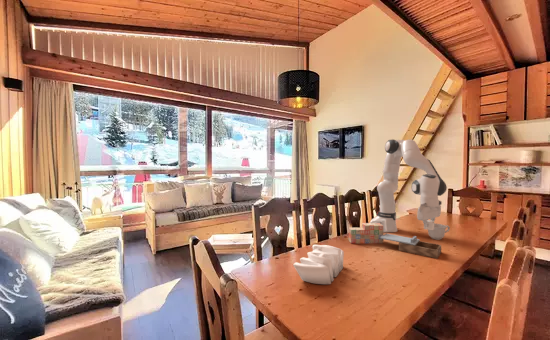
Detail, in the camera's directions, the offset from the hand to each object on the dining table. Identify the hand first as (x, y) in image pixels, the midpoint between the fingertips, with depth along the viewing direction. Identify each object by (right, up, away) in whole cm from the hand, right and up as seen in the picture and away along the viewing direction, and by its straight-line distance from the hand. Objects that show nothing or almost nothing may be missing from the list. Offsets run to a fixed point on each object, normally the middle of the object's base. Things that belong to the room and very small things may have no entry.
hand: (428, 226), depth 146 cm
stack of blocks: (-29, -16, +23) cm, 40 cm away
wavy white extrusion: (-67, -18, -22) cm, 72 cm away
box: (-3, -17, +4) cm, 17 cm away
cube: (0, -2, 0) cm, 2 cm away
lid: (-12, -11, +11) cm, 19 cm away
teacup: (+23, -16, +27) cm, 39 cm away
